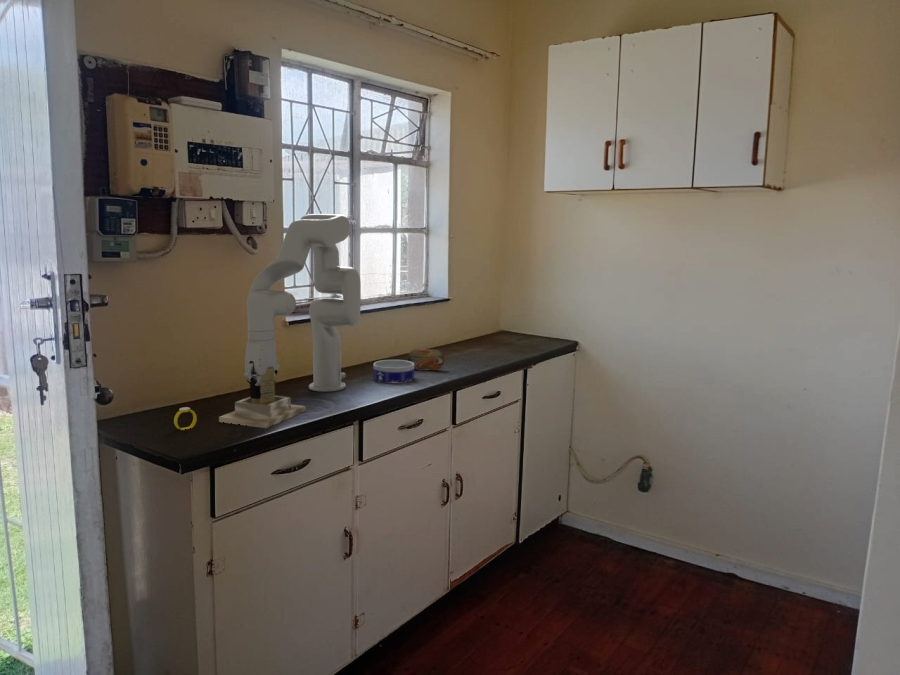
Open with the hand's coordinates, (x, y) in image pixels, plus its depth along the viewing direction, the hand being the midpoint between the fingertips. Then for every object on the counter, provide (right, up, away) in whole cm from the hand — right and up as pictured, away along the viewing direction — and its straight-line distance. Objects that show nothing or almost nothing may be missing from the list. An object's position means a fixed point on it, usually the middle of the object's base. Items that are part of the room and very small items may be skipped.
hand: (263, 395), depth 201 cm
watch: (-18, -8, -13) cm, 23 cm away
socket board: (0, -6, +1) cm, 6 cm away
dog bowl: (+34, +1, +54) cm, 64 cm away
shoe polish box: (0, -4, +1) cm, 4 cm away
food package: (+46, +4, +71) cm, 84 cm away
